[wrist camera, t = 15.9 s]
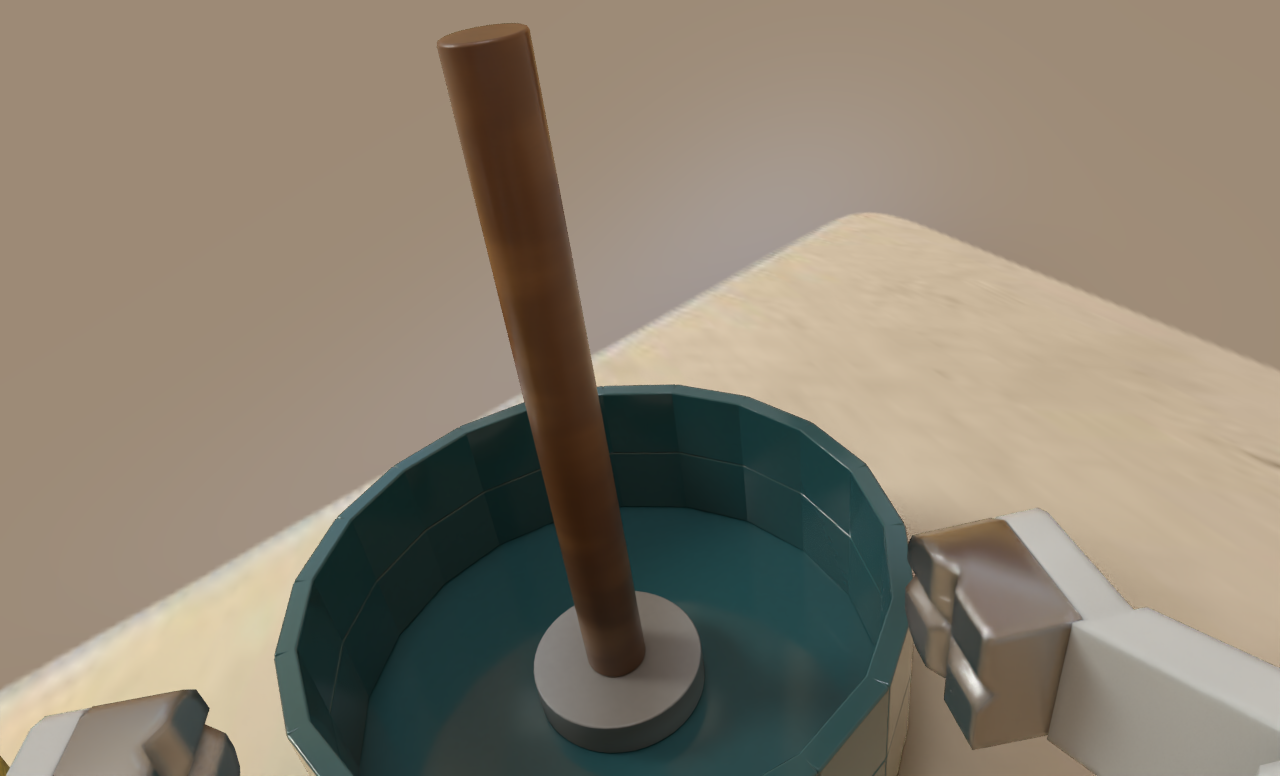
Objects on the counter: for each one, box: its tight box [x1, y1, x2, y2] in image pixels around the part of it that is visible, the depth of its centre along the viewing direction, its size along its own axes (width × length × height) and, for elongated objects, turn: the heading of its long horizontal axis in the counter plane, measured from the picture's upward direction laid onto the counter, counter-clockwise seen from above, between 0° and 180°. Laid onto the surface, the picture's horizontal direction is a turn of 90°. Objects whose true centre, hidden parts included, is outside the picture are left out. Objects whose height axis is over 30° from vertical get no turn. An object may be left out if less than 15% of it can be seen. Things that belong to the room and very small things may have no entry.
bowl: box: [274, 385, 914, 776], centre depth 25 cm, size 17×17×6 cm
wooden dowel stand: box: [437, 23, 705, 753], centre depth 21 cm, size 5×5×19 cm
